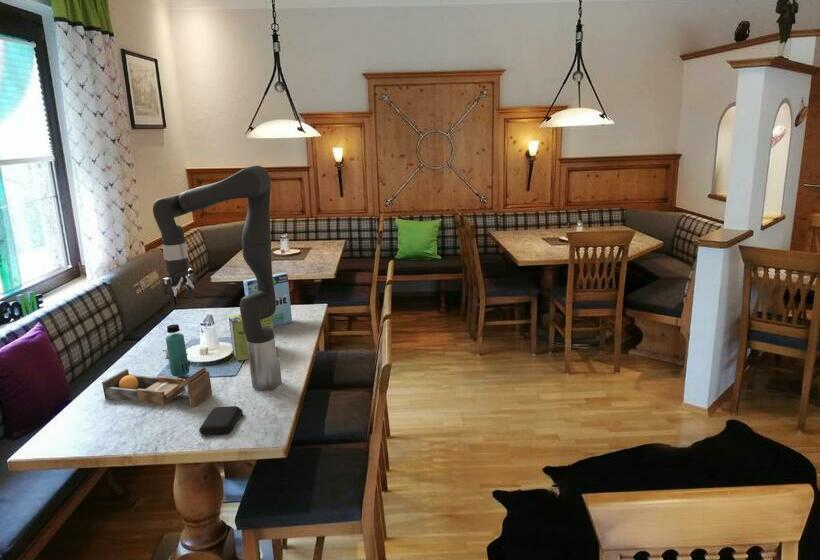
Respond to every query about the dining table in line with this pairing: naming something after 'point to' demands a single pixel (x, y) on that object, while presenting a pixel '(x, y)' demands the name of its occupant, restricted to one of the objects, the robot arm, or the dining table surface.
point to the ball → (128, 382)
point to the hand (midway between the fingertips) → (183, 302)
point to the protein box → (243, 335)
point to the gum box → (281, 295)
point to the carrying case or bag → (220, 420)
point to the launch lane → (160, 388)
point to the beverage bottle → (177, 351)
